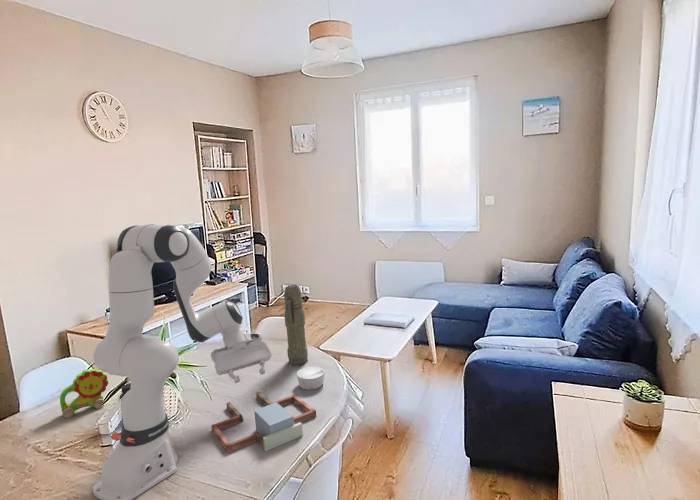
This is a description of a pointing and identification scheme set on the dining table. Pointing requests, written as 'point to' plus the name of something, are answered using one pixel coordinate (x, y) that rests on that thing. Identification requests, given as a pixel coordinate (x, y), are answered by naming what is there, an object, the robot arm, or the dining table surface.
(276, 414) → the slate block
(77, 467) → the dining table surface
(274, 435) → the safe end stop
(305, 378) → the ramekin
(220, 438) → the channel
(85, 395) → the toy lion
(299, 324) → the green carved statue
